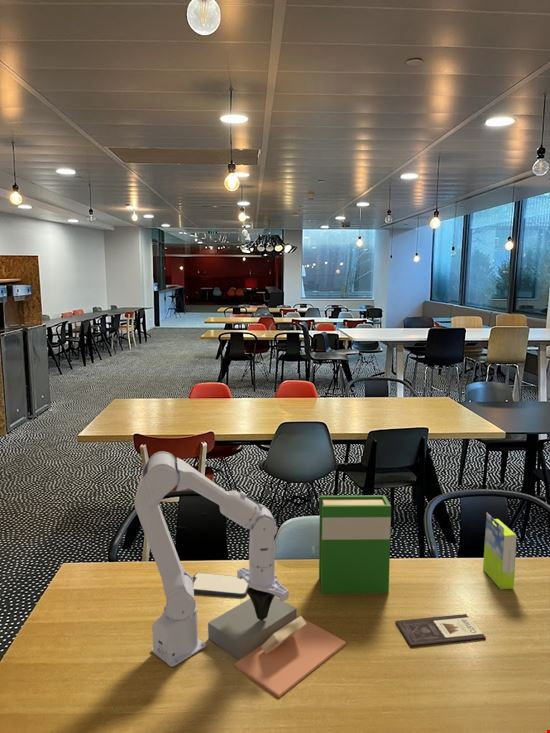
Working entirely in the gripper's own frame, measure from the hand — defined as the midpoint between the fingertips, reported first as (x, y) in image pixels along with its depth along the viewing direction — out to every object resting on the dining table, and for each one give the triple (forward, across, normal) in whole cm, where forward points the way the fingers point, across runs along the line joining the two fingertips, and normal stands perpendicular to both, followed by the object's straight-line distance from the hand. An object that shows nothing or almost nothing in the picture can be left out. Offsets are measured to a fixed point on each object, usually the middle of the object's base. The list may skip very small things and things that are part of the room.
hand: (262, 617), depth 122 cm
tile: (+1, -7, 0) cm, 7 cm away
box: (+5, -30, -62) cm, 69 cm away
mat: (+5, -9, 0) cm, 10 cm away
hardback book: (+5, -3, -32) cm, 33 cm away
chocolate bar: (+5, -29, -30) cm, 42 cm away
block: (+5, +3, 0) cm, 6 cm away
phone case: (+5, +23, -7) cm, 25 cm away
